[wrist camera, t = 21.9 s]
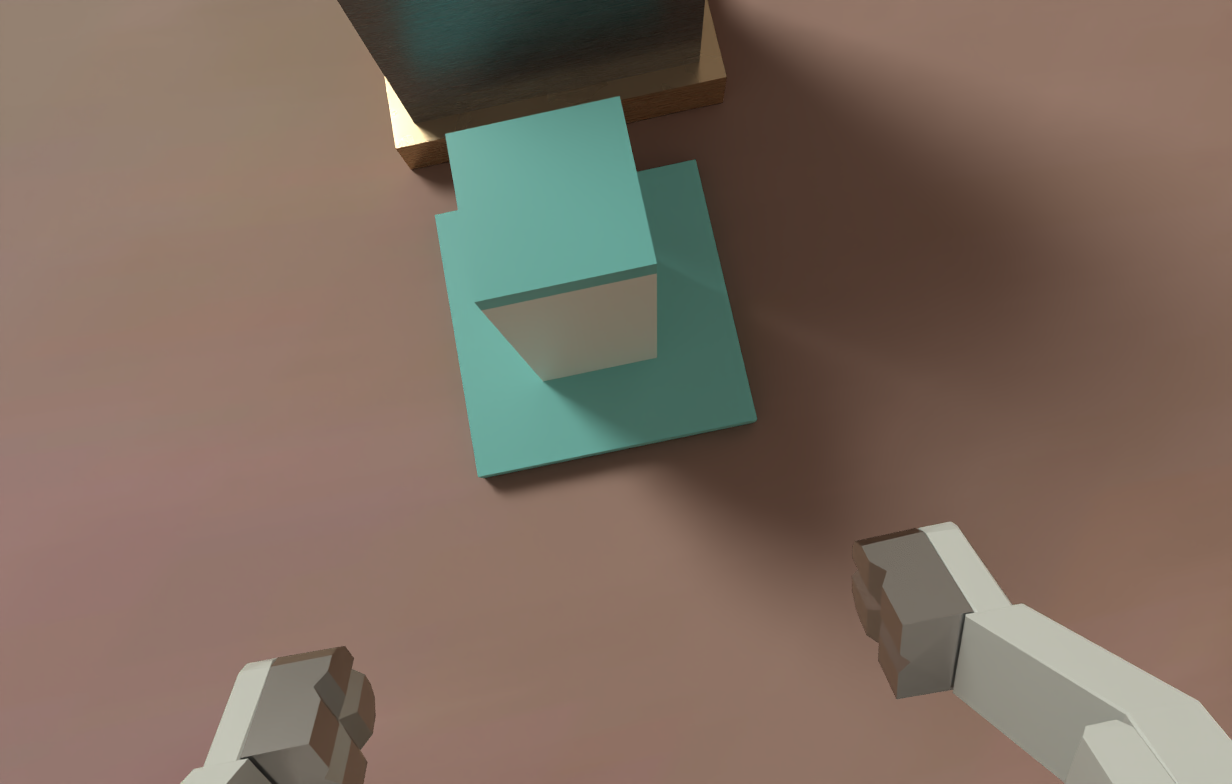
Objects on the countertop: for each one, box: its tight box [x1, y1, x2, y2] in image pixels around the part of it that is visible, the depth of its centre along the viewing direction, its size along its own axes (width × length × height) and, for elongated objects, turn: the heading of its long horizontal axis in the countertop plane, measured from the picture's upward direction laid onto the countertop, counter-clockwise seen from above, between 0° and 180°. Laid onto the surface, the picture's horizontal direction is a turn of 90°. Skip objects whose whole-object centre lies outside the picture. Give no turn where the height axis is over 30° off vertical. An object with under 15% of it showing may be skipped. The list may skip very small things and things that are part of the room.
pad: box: [435, 159, 757, 478], centre depth 32 cm, size 12×12×1 cm
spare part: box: [445, 96, 657, 381], centre depth 25 cm, size 5×5×12 cm
